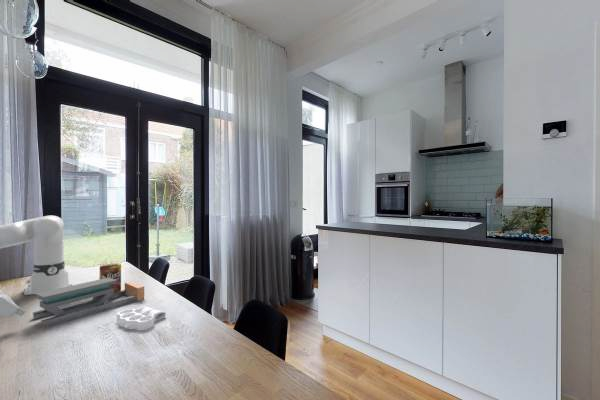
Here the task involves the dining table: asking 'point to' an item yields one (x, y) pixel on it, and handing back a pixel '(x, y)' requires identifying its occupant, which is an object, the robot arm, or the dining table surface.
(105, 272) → the candy box
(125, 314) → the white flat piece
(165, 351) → the dining table surface
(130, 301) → the guide track
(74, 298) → the sharpening stone
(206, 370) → the dining table surface
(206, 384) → the dining table surface
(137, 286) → the end stop
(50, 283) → the robot arm
